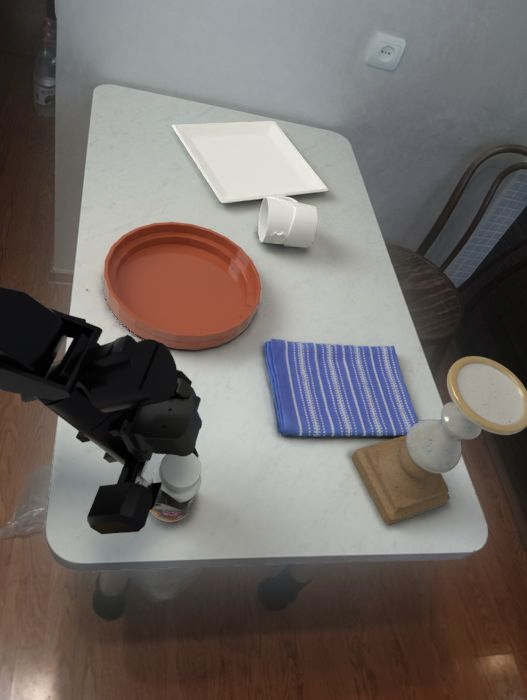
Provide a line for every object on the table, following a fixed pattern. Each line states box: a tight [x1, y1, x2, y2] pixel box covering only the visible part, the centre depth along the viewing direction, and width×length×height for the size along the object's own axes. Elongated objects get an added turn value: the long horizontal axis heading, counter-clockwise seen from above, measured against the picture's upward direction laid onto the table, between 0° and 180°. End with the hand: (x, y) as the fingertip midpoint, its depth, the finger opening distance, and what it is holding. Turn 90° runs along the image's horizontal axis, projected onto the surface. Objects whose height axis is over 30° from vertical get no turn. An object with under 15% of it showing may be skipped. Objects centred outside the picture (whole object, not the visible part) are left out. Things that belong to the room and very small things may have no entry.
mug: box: [257, 196, 319, 249], centre depth 102 cm, size 12×9×8 cm
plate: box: [171, 120, 330, 204], centre depth 116 cm, size 26×26×2 cm
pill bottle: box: [149, 453, 202, 523], centre depth 64 cm, size 6×6×10 cm
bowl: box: [103, 221, 263, 351], centre depth 89 cm, size 25×25×4 cm
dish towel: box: [263, 337, 419, 438], centre depth 85 cm, size 17×24×3 cm
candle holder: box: [351, 355, 527, 525], centre depth 69 cm, size 11×11×24 cm
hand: (188, 482), depth 63 cm, fingers open, 6 cm apart
